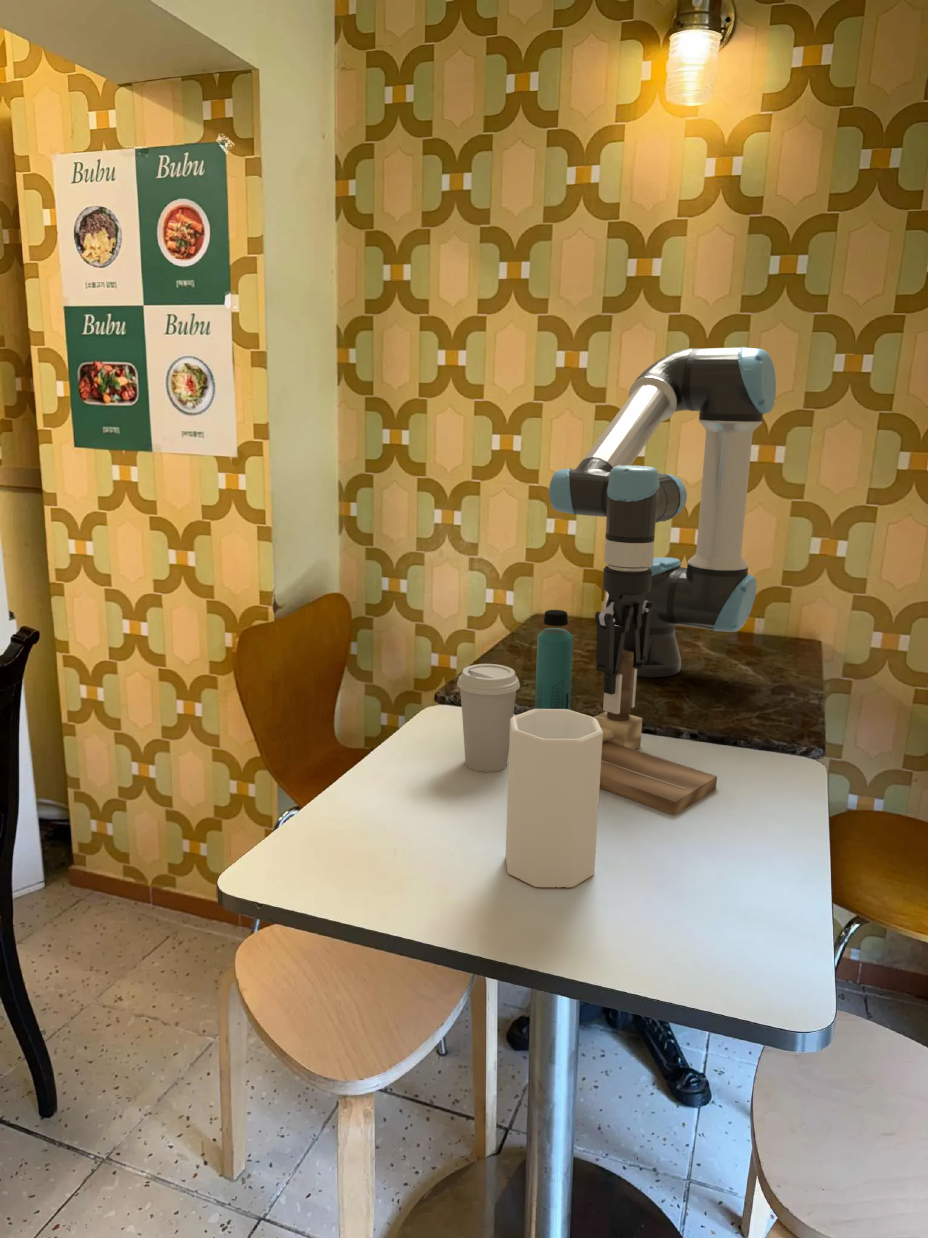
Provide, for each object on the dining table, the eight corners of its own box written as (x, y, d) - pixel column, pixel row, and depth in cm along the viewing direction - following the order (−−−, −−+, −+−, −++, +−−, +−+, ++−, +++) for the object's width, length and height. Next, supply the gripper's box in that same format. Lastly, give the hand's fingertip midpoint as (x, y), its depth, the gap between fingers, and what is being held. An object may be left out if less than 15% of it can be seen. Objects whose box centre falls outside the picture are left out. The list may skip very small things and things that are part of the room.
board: (572, 741, 150) (572, 729, 149) (715, 788, 133) (717, 775, 132) (526, 761, 141) (527, 749, 140) (674, 815, 124) (675, 801, 123)
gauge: (609, 737, 152) (615, 645, 148) (640, 747, 148) (647, 653, 144) (555, 762, 141) (560, 664, 137) (587, 773, 137) (592, 673, 133)
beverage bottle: (569, 729, 155) (574, 616, 150) (530, 726, 156) (535, 614, 151) (572, 717, 161) (577, 608, 156) (535, 713, 162) (539, 605, 157)
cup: (529, 898, 103) (536, 747, 98) (488, 853, 113) (492, 714, 108) (612, 879, 107) (622, 733, 103) (566, 837, 117) (573, 703, 113)
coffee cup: (446, 756, 142) (447, 665, 139) (500, 748, 146) (503, 659, 142) (470, 780, 134) (472, 684, 130) (527, 771, 138) (531, 677, 134)
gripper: (636, 556, 149) (627, 691, 155) (576, 569, 137) (569, 715, 143) (676, 563, 144) (666, 702, 150) (618, 577, 132) (609, 727, 138)
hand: (618, 708), depth 146 cm, fingers closed on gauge, 4 cm apart
